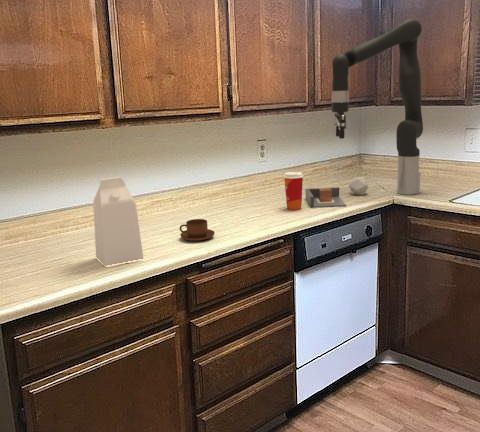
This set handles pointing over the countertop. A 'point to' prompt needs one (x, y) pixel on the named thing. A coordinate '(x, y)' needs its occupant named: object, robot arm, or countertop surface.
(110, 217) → the milk
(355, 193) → the die
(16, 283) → the countertop surface
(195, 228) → the cup and saucer
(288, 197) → the coffee cup
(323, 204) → the board
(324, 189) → the walnut block
